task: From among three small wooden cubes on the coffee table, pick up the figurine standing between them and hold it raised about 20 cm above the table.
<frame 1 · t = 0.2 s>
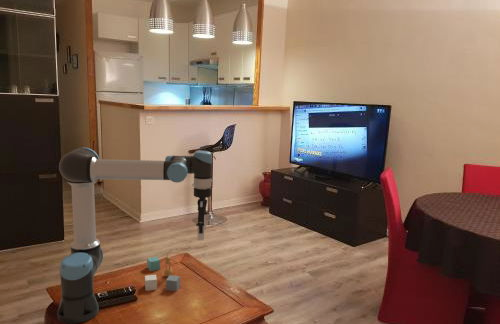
hand: (201, 234, 174), 28 cm above the table, fingers open, 13 cm apart
cube teal: (153, 268, 201), on the table
figurine: (168, 277, 192), on the table
cube slate: (172, 288, 182), on the table
cube offwhite: (150, 287, 182), on the table
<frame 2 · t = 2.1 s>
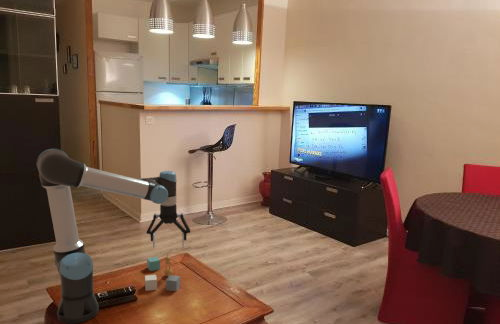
hand: (168, 246, 190), 15 cm above the table, fingers open, 13 cm apart
nothing on the table moved.
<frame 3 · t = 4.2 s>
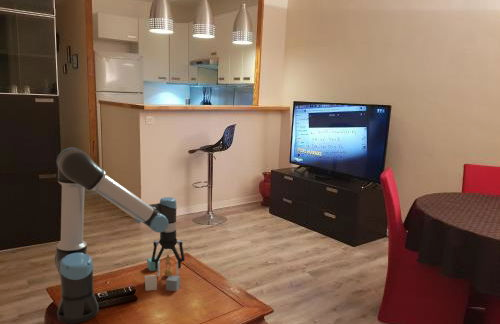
hand: (168, 274, 192), 1 cm above the table, fingers closed on figurine, 8 cm apart
figurine: (168, 277, 192), on the table, touching gripper
everything else where it was.
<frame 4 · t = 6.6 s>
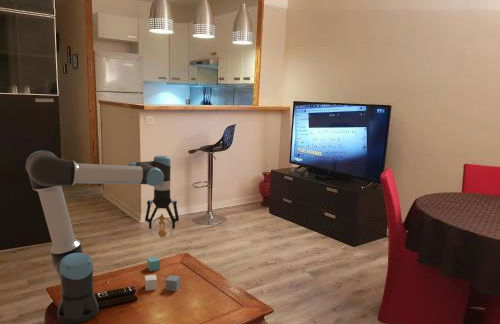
hand: (162, 235, 189), 21 cm above the table, fingers closed on figurine, 8 cm apart
figurine: (162, 238, 189), point 20 cm above the table, touching gripper
everything else where it was.
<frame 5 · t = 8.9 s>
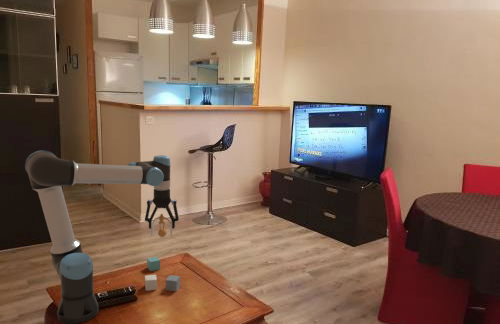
hand: (161, 234, 189), 21 cm above the table, fingers closed on figurine, 8 cm apart
figurine: (161, 237, 189), point 20 cm above the table, touching gripper
everything else where it was.
at the end: the gripper is holding figurine; figurine point 19.7 cm above the table; cube slate moved 0.1 cm from its start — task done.
